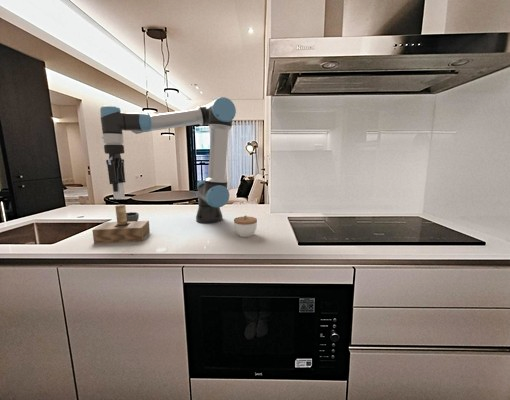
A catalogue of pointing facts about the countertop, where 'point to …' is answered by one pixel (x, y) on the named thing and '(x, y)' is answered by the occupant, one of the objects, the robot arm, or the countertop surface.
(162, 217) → the countertop surface
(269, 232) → the countertop surface
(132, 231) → the socket block
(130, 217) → the mortar and pestle
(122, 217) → the dowel
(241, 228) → the lidded jar
